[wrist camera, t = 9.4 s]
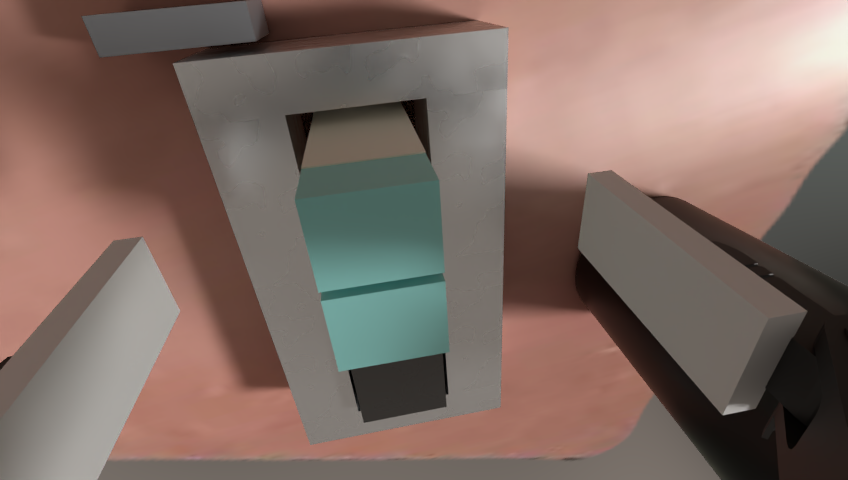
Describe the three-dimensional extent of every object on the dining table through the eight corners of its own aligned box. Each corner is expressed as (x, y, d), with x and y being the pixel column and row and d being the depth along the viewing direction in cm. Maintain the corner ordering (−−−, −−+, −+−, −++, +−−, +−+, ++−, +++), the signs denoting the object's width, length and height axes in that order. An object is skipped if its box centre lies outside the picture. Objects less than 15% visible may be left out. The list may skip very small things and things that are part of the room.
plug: (316, 101, 19) (294, 197, 10) (395, 92, 19) (439, 178, 10) (340, 221, 22) (339, 372, 13) (408, 212, 22) (449, 353, 14)
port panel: (206, 48, 17) (161, 68, 13) (476, 19, 18) (518, 30, 14) (314, 387, 27) (309, 461, 23) (481, 356, 28) (506, 422, 24)
